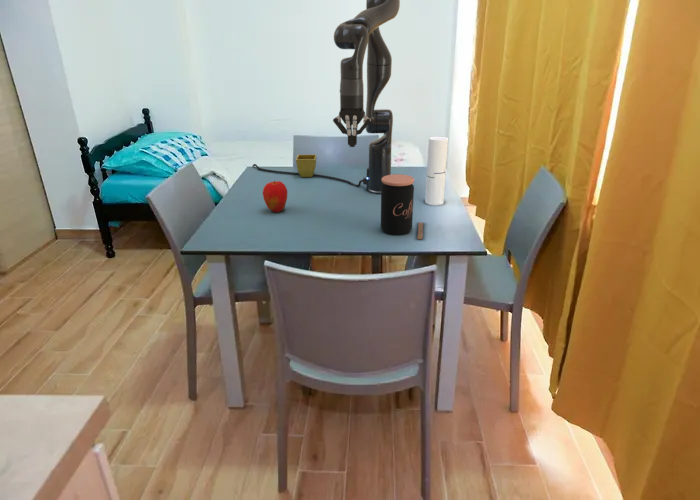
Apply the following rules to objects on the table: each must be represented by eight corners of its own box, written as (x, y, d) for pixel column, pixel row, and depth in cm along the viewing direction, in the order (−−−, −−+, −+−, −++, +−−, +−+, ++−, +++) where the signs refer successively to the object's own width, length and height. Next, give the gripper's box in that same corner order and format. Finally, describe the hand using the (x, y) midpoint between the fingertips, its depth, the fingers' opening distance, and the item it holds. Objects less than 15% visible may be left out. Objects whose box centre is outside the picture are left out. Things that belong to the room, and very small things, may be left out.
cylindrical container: (443, 205, 188) (448, 140, 178) (424, 204, 190) (428, 140, 179) (443, 199, 195) (448, 136, 184) (425, 198, 196) (429, 136, 185)
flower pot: (315, 178, 224) (315, 159, 220) (296, 178, 224) (295, 159, 220) (317, 173, 232) (316, 154, 228) (298, 173, 232) (297, 154, 228)
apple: (279, 204, 191) (276, 175, 186) (293, 210, 185) (291, 179, 180) (259, 210, 185) (256, 180, 180) (273, 216, 180) (271, 185, 174)
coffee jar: (392, 238, 160) (394, 185, 152) (374, 228, 168) (375, 177, 161) (418, 231, 165) (421, 179, 157) (399, 221, 173) (401, 172, 166)
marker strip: (417, 239, 159) (417, 238, 159) (418, 223, 171) (418, 222, 171) (422, 239, 159) (422, 238, 159) (423, 223, 171) (423, 222, 171)
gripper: (373, 91, 159) (373, 144, 166) (334, 91, 161) (335, 143, 169) (370, 94, 152) (370, 149, 160) (329, 94, 154) (330, 148, 162)
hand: (352, 146), depth 164 cm, fingers closed
